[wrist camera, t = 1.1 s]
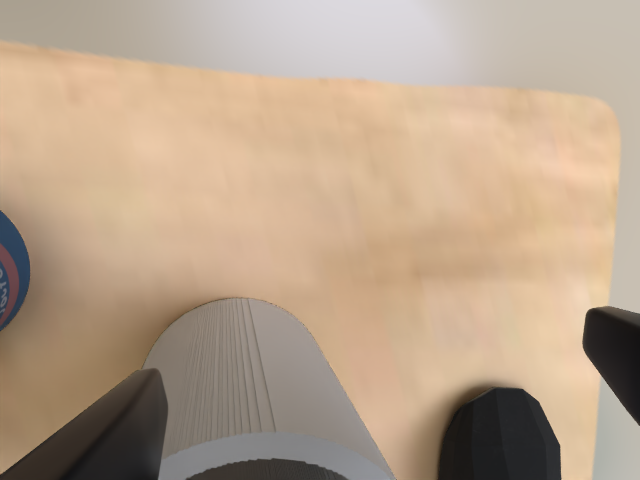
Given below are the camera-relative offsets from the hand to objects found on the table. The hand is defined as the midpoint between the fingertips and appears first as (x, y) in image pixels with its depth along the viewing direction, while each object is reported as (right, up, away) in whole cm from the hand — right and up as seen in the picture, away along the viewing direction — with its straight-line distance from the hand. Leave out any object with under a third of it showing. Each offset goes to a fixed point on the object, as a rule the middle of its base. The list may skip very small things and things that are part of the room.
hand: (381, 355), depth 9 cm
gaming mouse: (+8, -13, +17) cm, 23 cm away
